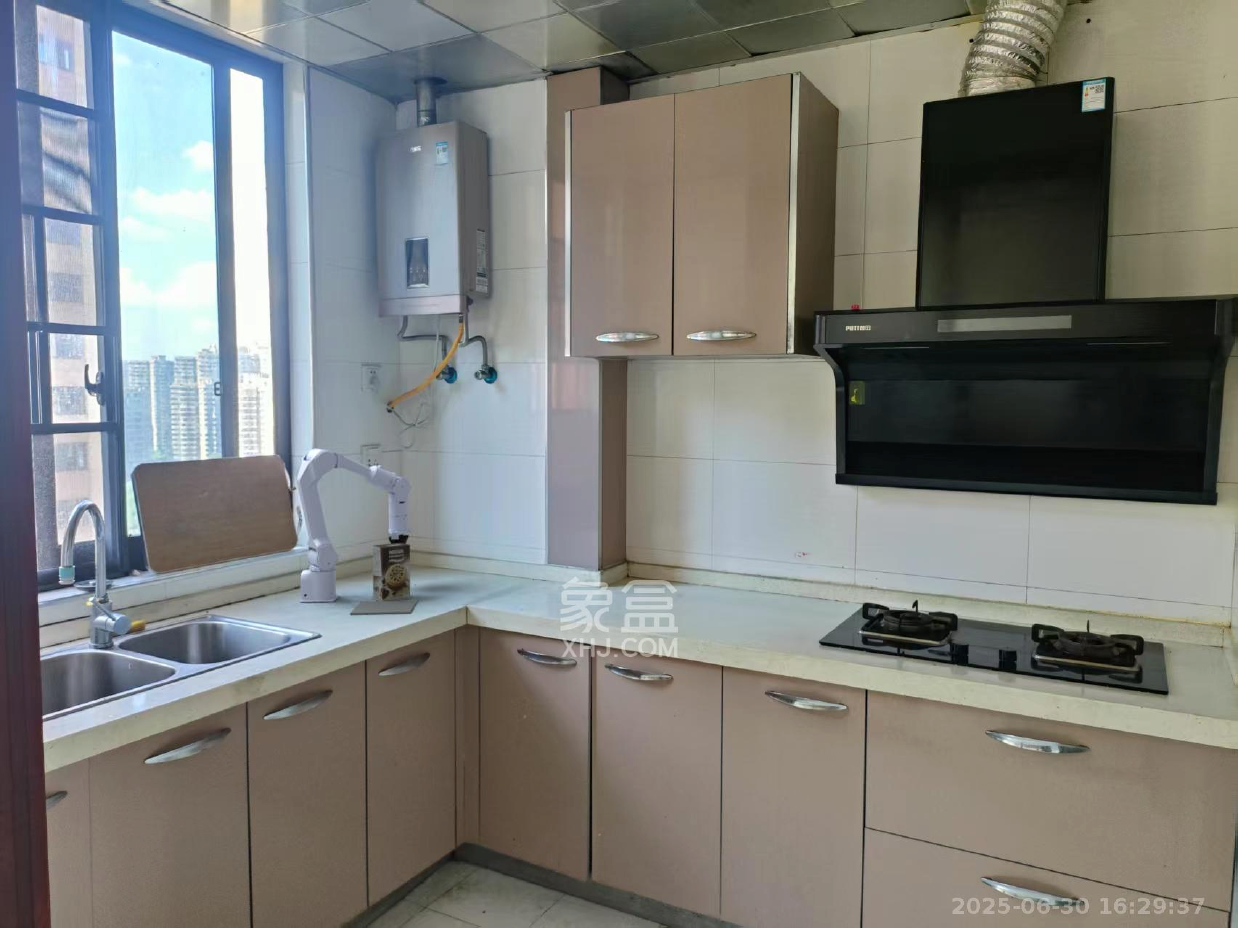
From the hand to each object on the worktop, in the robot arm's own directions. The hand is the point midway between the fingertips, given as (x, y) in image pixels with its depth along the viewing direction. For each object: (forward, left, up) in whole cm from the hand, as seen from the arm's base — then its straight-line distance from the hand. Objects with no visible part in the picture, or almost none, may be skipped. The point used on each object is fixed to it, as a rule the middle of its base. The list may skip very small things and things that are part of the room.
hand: (399, 559), depth 264 cm
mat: (0, -26, -9) cm, 27 cm away
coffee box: (0, -14, -10) cm, 17 cm away
